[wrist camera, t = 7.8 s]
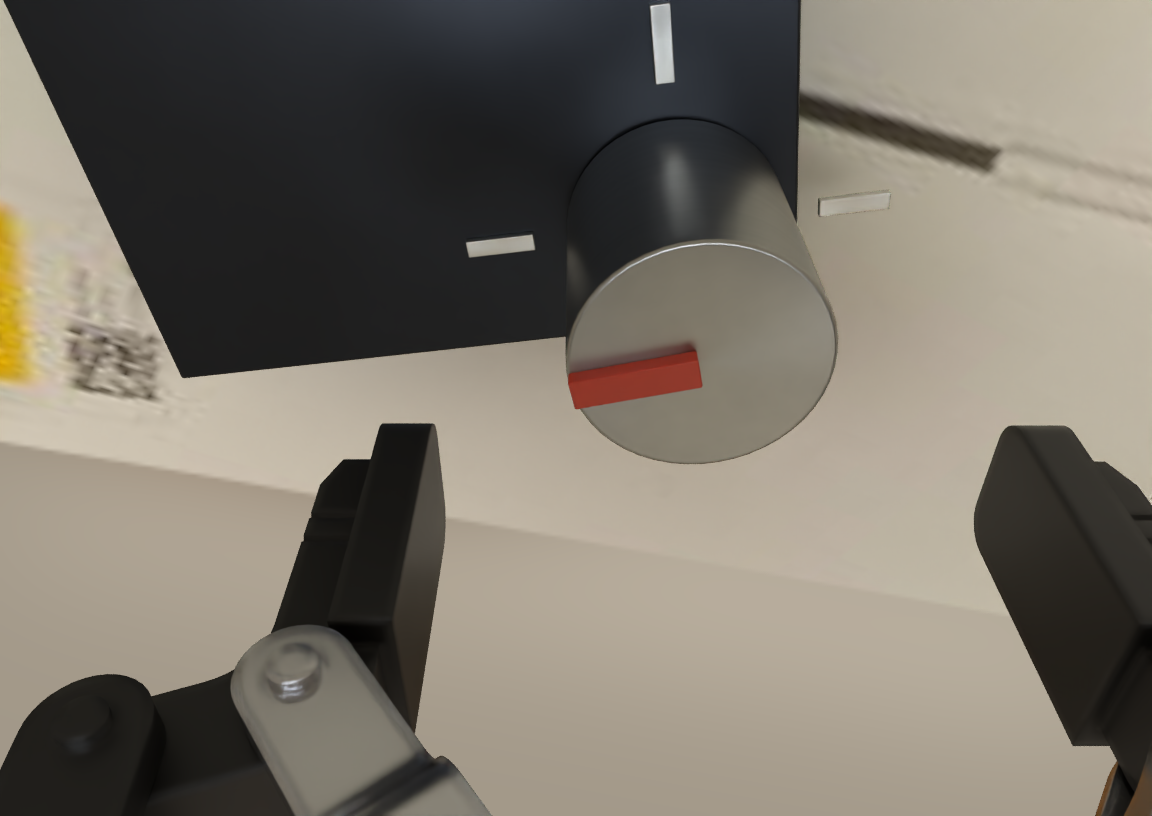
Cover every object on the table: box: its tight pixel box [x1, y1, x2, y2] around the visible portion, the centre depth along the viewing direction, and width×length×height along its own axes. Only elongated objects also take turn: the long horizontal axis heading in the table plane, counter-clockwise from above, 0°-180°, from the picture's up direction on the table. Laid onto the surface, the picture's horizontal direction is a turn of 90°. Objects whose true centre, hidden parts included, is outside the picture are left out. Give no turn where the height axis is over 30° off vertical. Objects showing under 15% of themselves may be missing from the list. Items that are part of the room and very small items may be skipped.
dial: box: [566, 119, 838, 464], centre depth 17 cm, size 4×4×5 cm
